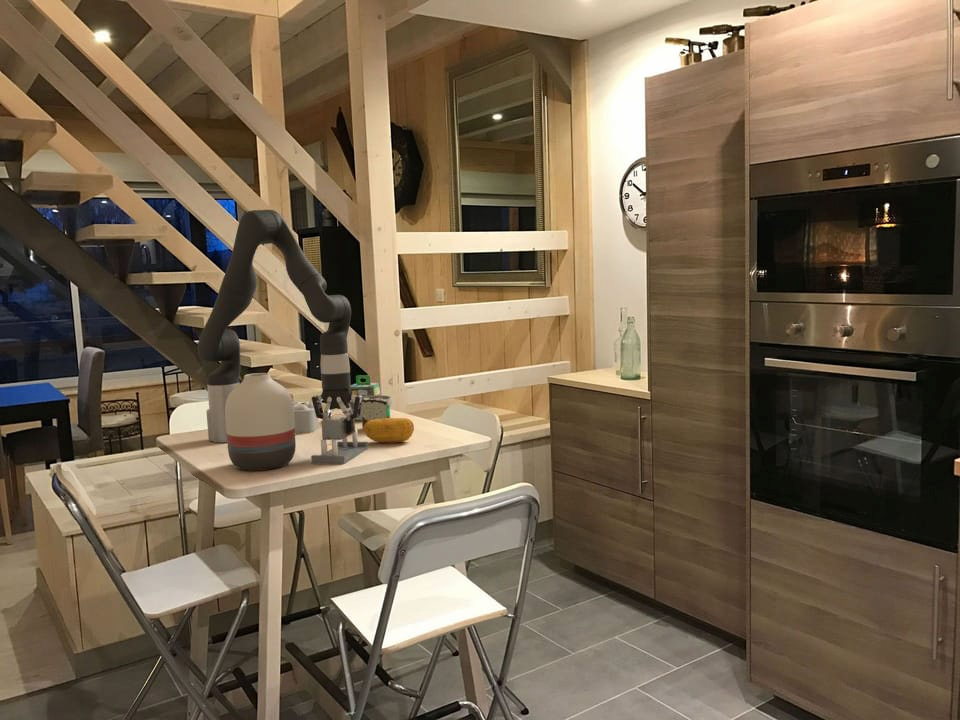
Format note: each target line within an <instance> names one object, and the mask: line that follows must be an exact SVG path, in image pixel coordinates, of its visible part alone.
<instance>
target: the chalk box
mask: <svg viewBox="0 0 960 720" xmlns="http://www.w3.org/2000/svg"><path fill="white" fill-rule="evenodd" d="M361 379H365V381H363V382H362V381H361ZM355 381H356V383H353V384H351V392H352V394H353V395H358V396H359V395H362V396H373V395H381V389H380V382H379V381H378V382H371V377H370V375H369V374H366V375H365V374H364V375H362V374H359V375H356V376H355ZM349 404H350V406H351V411H352V413H353V409H354V403H353V399H351V400H350V402H349ZM354 420H355V421H362V420H361V412H360V416H359V417H357V418H354Z"/></svg>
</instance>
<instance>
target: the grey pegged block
mask: <svg viewBox="0 0 960 720" xmlns="http://www.w3.org/2000/svg"><path fill="white" fill-rule="evenodd" d="M351 437H352V441H349V440H348V436H347V437H346V438H344V439H342V440H331V449H329V450H328V448H327V445H328V444H327V440H323V439H321V440H320V448H321V449H320V451H321V454H319V455H318V454H312V455H311V457H310V459H311V461H310V462H311V464H317V463H320V464H323V465H324V464H327V465H330V464H331V465H332V464H333V465H344V464H346V463H348V462H350V461H351V460H353V459H354V458H356V457H358V456H359V455H360V453H361V454H362V453H364V452H365V451H367V450H368V448H369V446H368V441H358V440H359V438H358V428H355V432H354V433H353V434H351ZM366 449H367V450H366ZM363 451H364V452H363Z"/></svg>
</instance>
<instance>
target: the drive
mask: <svg viewBox="0 0 960 720" xmlns="http://www.w3.org/2000/svg"><path fill="white" fill-rule="evenodd" d="M346 421H347V419H346V417H345V415H344V413H335V414H333V415H331V417H329V418H327V419H324V420H322V419H321V435H322V439H321V440H326V441H332V440H337V441H342V439H344V438H346V437H347V438H348V437H349V436H352V434H353V433H354V432H355V429H356V423H355V421H356V420H353V424H354V430H353V432H352V433H351V434H350V435H348V434H347V430H346Z"/></svg>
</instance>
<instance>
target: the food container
mask: <svg viewBox="0 0 960 720" xmlns="http://www.w3.org/2000/svg"><path fill="white" fill-rule="evenodd" d="M393 404H394V403H393V399H392V398H391V396H389V395H381V394H380V395H373V396H363V399H362V406H361V420H360V421H361V426H362V430H364V425H365V423H367V422H368V421H370V420H373V419H384V418H391V406H392V405H393Z"/></svg>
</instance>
